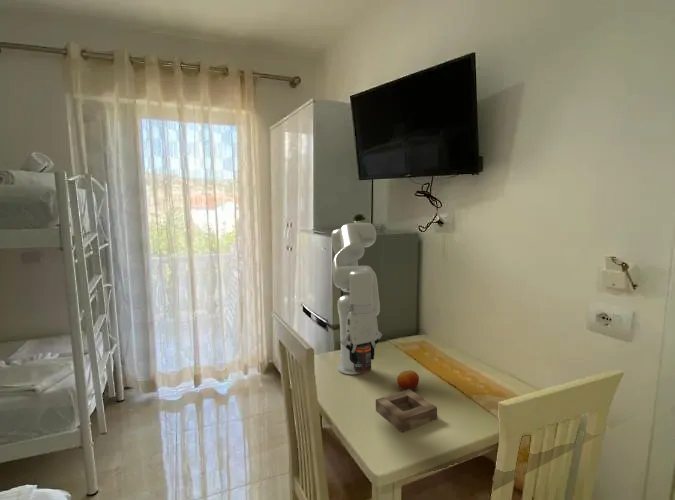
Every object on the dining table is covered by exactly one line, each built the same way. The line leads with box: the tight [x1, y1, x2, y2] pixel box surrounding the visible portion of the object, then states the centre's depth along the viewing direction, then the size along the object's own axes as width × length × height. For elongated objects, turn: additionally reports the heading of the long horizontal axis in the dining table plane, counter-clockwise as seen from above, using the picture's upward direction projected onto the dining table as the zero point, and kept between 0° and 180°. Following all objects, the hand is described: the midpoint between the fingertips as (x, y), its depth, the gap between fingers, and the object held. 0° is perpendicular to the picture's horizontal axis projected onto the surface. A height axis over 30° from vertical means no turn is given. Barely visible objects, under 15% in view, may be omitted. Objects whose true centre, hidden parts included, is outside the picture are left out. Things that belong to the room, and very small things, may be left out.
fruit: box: [396, 370, 420, 392], centre depth 140 cm, size 8×8×8 cm
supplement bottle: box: [354, 343, 372, 374], centre depth 126 cm, size 6×6×11 cm
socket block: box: [375, 389, 438, 433], centre depth 123 cm, size 14×14×4 cm
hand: (362, 359), depth 126 cm, fingers closed on supplement bottle, 6 cm apart
